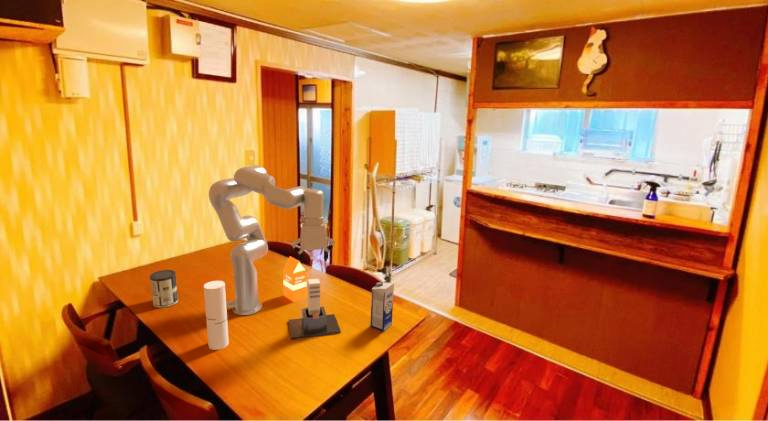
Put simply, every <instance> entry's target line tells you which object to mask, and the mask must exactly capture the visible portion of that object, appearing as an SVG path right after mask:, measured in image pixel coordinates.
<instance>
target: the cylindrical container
mask: <svg viewBox="0 0 768 421" xmlns="http://www.w3.org/2000/svg"><path fill="white" fill-rule="evenodd" d="M203 295H204V307H205V319H206V330H207V344H208V348H209V349H210V350H214V351H218V350H223V349H225V348H226V347H228V345H229V340H230V339H229V327H228V326H229V325H228V312H227V306H226V302H227V296H226V283H225V281H223V280H212V281H208V282H206V283H204V284H203Z"/></svg>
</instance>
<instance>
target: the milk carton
mask: <svg viewBox="0 0 768 421" xmlns="http://www.w3.org/2000/svg"><path fill="white" fill-rule="evenodd" d="M394 291H395V283H394V282H383V281H380V282H376V283H375V286H373V287H372V288H371V303H370V304H371V305H370V306H371V307H370V325H369V326H370V328H373V329H375V330H378V331H380V332H383V333H384V332H386V330H388V329H389V328H390V327H391V326H392V325H393V309H394V306H393V305H394V293H395V292H394Z"/></svg>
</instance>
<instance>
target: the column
mask: <svg viewBox="0 0 768 421" xmlns="http://www.w3.org/2000/svg"><path fill="white" fill-rule="evenodd" d="M320 307H321V282H320V279H319V278H310V279H307V308H308V312H309V315H312V313H318V314H320Z"/></svg>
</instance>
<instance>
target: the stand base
mask: <svg viewBox="0 0 768 421" xmlns="http://www.w3.org/2000/svg"><path fill="white" fill-rule="evenodd" d="M288 326H289V327H288V328H289V333H290V334H289V335H290V340H291V341H293V340H294V341H296V340H301V339H308V338H314V337H321V336H322V337H323V336H330V335H336V334H342V333H341V332H342V331H341V327H340V325H339V323H338V320H337V317H336V315H335V314H334V313H333V314H327V311H326V309H325V307H324V306H320V314H318V313H312V315H309V312H308V307H304V308H301V318H300V317H299V318H293V319H288Z"/></svg>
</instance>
